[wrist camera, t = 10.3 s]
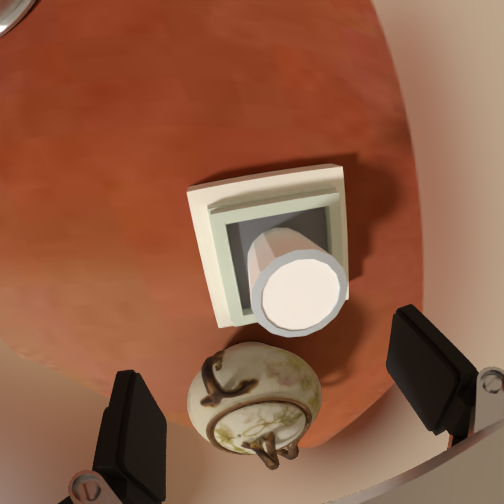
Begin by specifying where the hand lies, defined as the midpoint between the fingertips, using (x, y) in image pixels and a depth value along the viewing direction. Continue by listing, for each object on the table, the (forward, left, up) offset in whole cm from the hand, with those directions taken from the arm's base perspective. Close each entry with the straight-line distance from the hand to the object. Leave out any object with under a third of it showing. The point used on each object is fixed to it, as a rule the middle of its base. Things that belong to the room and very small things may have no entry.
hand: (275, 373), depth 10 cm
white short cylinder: (+3, +3, -17) cm, 17 cm away
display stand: (+3, +4, -21) cm, 22 cm away
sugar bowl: (+19, -1, -21) cm, 29 cm away
